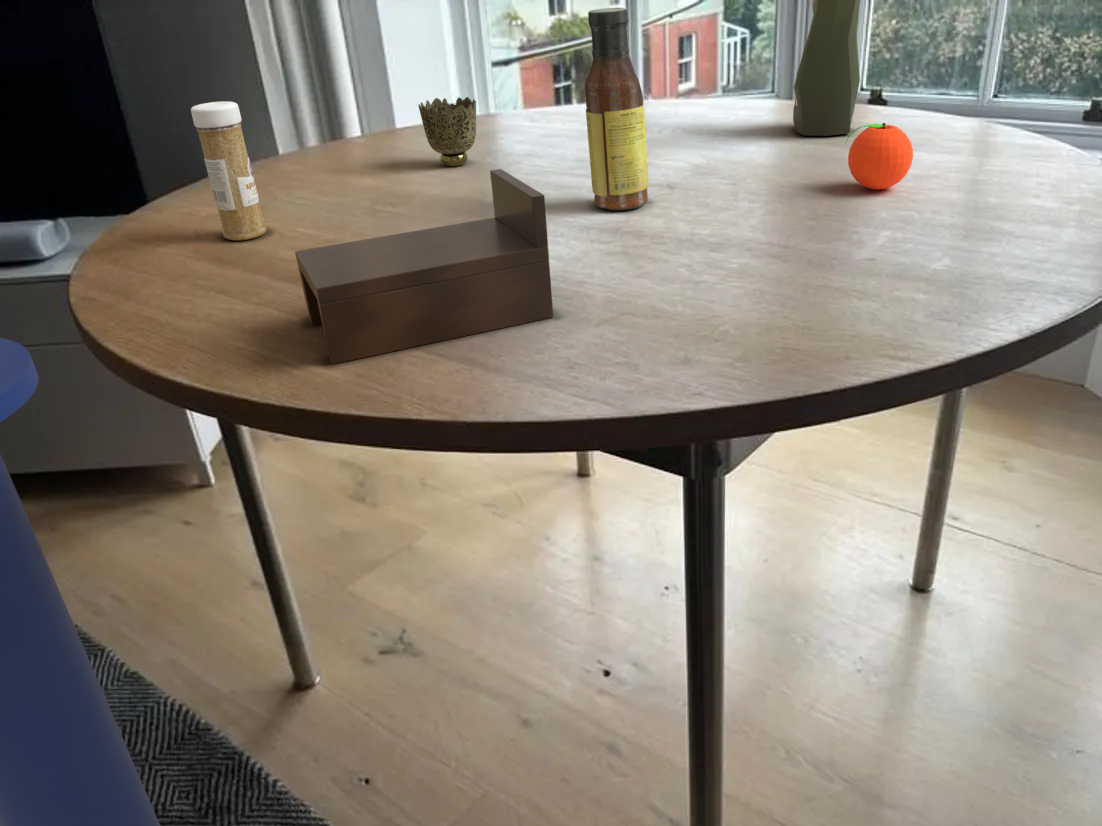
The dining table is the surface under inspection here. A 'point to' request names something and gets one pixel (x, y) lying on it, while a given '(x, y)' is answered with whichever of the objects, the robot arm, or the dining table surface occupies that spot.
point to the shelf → (433, 279)
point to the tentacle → (828, 70)
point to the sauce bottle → (615, 116)
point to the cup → (450, 128)
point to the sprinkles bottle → (229, 169)
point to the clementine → (880, 156)
